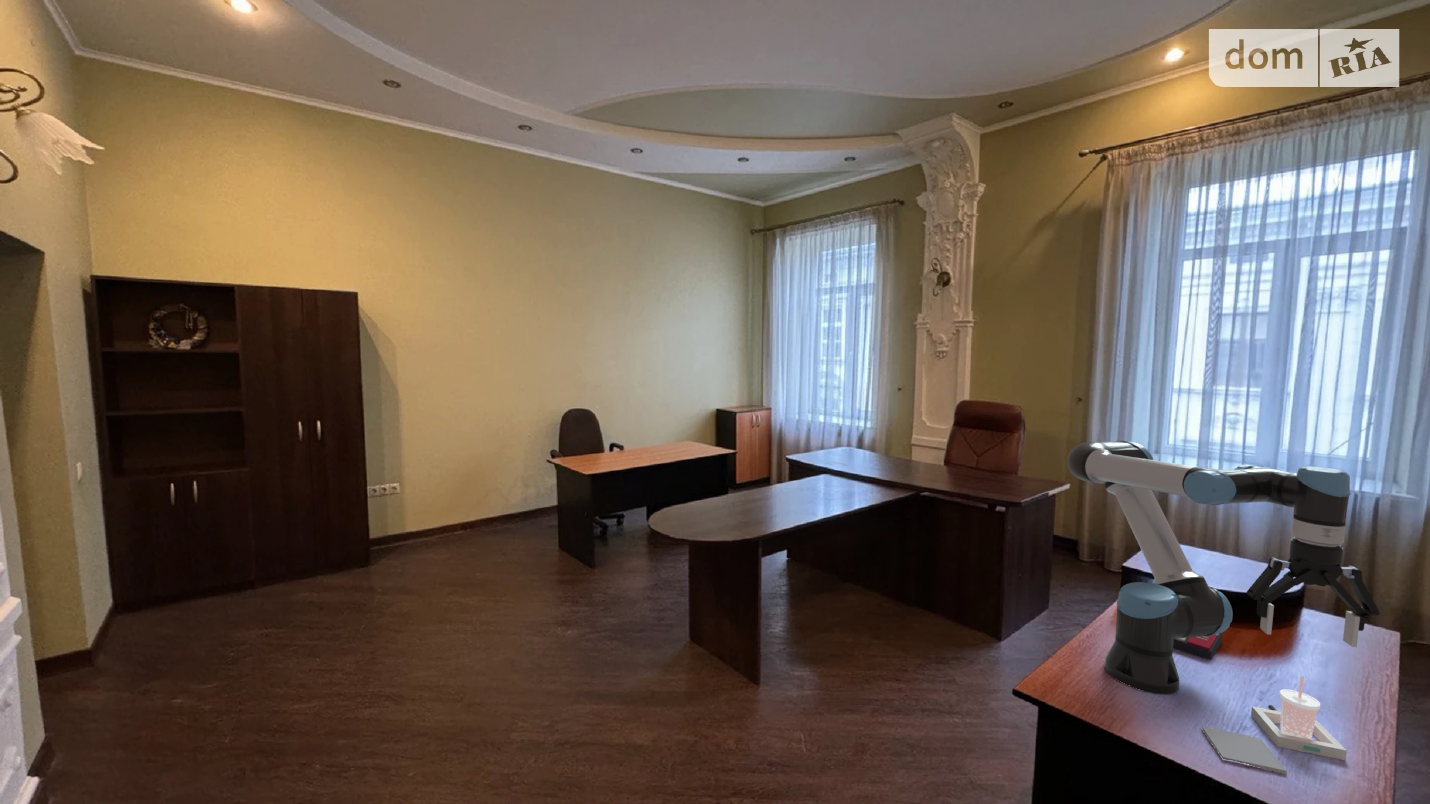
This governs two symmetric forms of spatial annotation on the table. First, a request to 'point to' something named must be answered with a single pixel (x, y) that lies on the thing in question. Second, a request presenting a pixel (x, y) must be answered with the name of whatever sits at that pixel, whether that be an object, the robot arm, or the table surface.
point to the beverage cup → (1298, 712)
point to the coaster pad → (1244, 749)
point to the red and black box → (1199, 645)
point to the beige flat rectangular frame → (1322, 747)
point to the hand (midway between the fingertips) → (1306, 637)
